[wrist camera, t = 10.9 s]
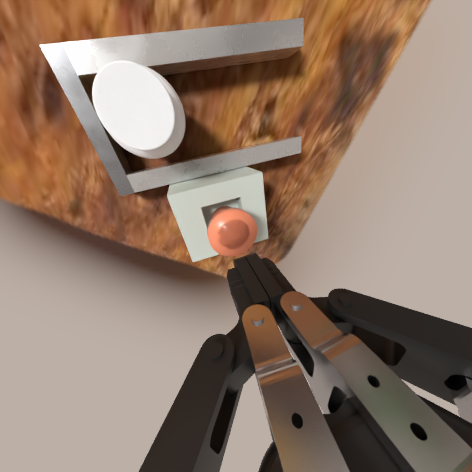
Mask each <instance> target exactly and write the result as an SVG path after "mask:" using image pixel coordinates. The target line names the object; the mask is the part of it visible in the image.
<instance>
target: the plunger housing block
mask: <svg viewBox="0 0 472 472" xmlns="http://www.w3.org/2000/svg"><path fill="white" fill-rule="evenodd" d="M167 198H168V200H169V203H170V205H171V208H172V210H173V213H174V215H175V218H176V220H177V223H178V226H179V228H180V231H181V233H182V236H183V238H184V241H185V243H186V246H187V248H188V251H189V253H190V256H191V259H192V261H193V262H196V261H199V260H202V259H205V258H209V257H212V256H215V255H218V254H219V253H217V252H216V251H215V250H214V249H213V248H212V247H211V245H210V242H209V239H208V235H207V229H208V225H209V222H210V221H211V216H212V214H213V212H214V211H215V210H216V209H217V208H219V207H222V206H229V207H232V208H240V209H243V210H245V211H246V212H247V213H248V214H249V215H250V216H251V217H252V218H253V219H254V220H255V222H256V225H257V237H256V240H255V242H254V243H256V242H259V241H262V240H265V239H268V229H267V218H266V207H265V196H264V185H263V174H262V172H261V171H258V170H255V169H252V168H249V167H246V166H244V167H240V168H236V169H232V170H227V171H223V172H219V173H215V174H211V175H207V176H202V177H198V178H194V179H190V180H186V181H181V182H177V183H173V184H170V185H169V189H168V193H167Z"/></svg>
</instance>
